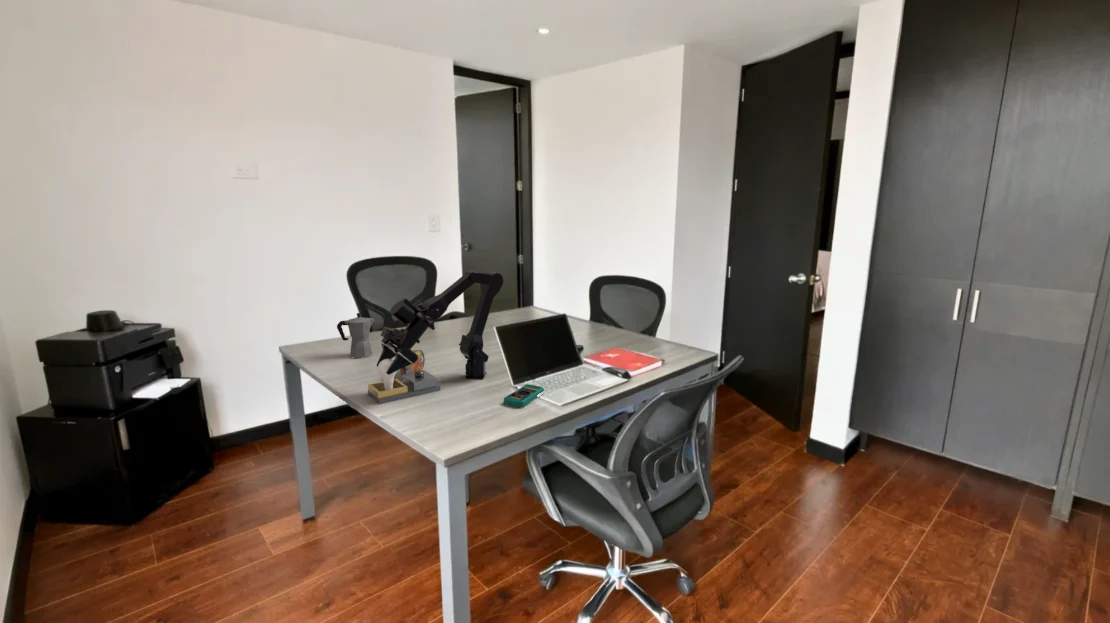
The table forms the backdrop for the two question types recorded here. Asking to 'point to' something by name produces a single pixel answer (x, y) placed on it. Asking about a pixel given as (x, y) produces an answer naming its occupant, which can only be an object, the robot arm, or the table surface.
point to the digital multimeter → (523, 395)
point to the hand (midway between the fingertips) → (382, 370)
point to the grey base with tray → (404, 387)
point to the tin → (417, 366)
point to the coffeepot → (358, 335)
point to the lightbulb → (382, 371)
